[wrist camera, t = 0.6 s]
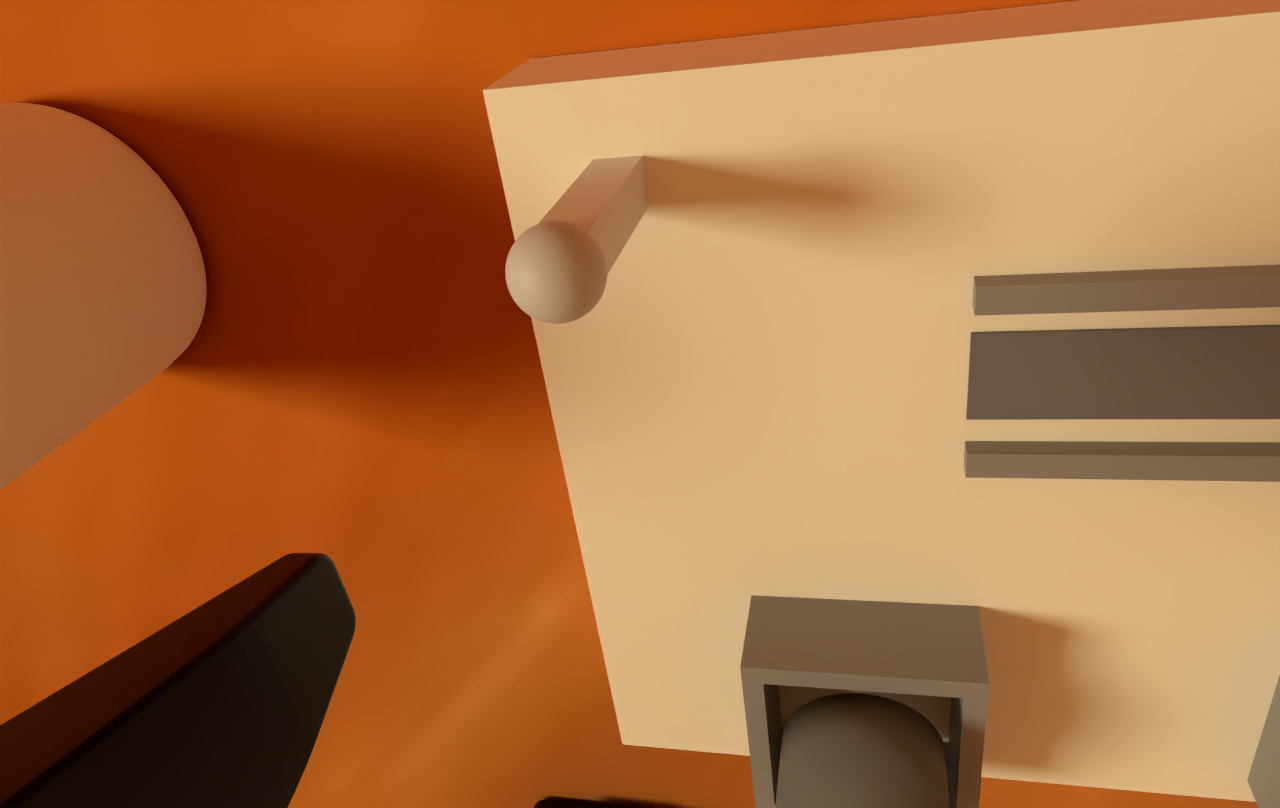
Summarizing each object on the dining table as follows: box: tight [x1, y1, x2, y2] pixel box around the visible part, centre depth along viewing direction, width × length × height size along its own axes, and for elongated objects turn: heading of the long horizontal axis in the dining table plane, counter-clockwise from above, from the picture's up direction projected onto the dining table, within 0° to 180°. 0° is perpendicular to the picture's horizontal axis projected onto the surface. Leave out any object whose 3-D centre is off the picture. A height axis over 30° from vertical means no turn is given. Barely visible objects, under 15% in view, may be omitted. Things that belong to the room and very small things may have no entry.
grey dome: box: [776, 693, 950, 808], centre depth 21 cm, size 4×4×2 cm
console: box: [483, 0, 1280, 808], centre depth 18 cm, size 19×26×8 cm
